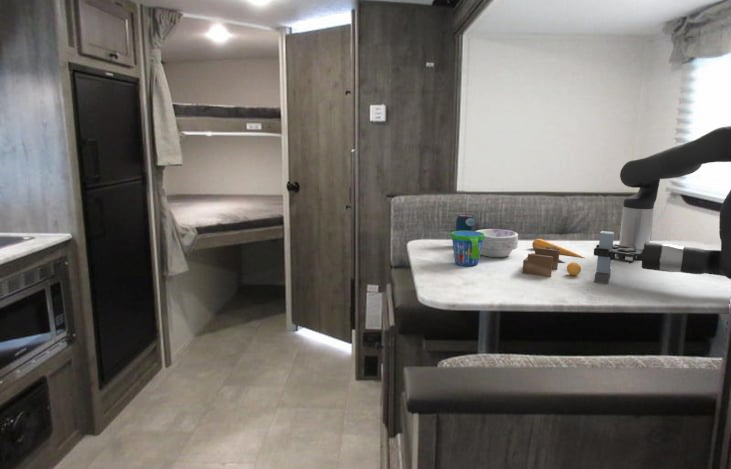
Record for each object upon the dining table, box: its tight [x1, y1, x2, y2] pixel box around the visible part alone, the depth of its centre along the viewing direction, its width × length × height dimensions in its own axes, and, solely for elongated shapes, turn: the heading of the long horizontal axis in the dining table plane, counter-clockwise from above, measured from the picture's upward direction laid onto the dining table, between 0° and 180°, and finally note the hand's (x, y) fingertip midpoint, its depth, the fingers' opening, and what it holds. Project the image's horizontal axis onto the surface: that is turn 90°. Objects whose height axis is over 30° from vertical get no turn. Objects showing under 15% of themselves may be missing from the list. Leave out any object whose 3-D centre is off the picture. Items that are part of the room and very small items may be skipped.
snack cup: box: [450, 230, 485, 267], centre depth 164 cm, size 16×10×10 cm
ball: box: [566, 261, 582, 276], centre depth 153 cm, size 4×4×4 cm
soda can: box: [455, 213, 476, 231], centre depth 189 cm, size 7×7×12 cm
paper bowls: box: [476, 228, 519, 258], centre depth 178 cm, size 15×15×8 cm
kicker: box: [593, 230, 615, 285], centre depth 148 cm, size 9×3×14 cm, turn 150°
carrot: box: [531, 238, 585, 259], centre depth 182 cm, size 20×4×4 cm, turn 42°
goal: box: [522, 247, 560, 278], centre depth 157 cm, size 11×8×6 cm
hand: (595, 249), depth 149 cm, fingers open, 4 cm apart
